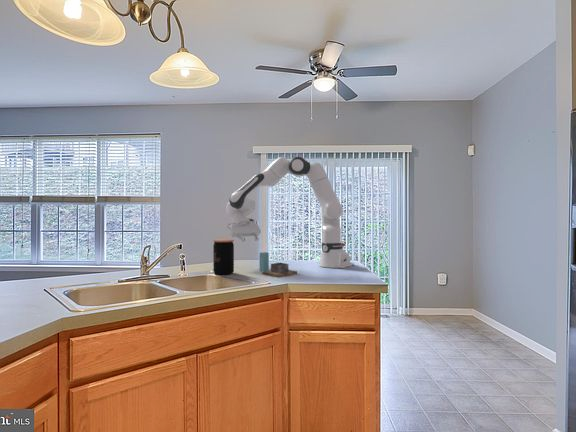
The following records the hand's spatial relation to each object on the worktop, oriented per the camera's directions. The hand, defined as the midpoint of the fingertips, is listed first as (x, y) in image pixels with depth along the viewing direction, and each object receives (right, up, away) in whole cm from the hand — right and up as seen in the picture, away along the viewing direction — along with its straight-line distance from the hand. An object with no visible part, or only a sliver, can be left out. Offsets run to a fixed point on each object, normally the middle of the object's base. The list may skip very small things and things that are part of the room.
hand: (250, 240), depth 194 cm
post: (+8, -16, -9) cm, 20 cm away
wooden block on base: (+17, -16, -18) cm, 30 cm away
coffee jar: (-12, -16, -17) cm, 27 cm away
